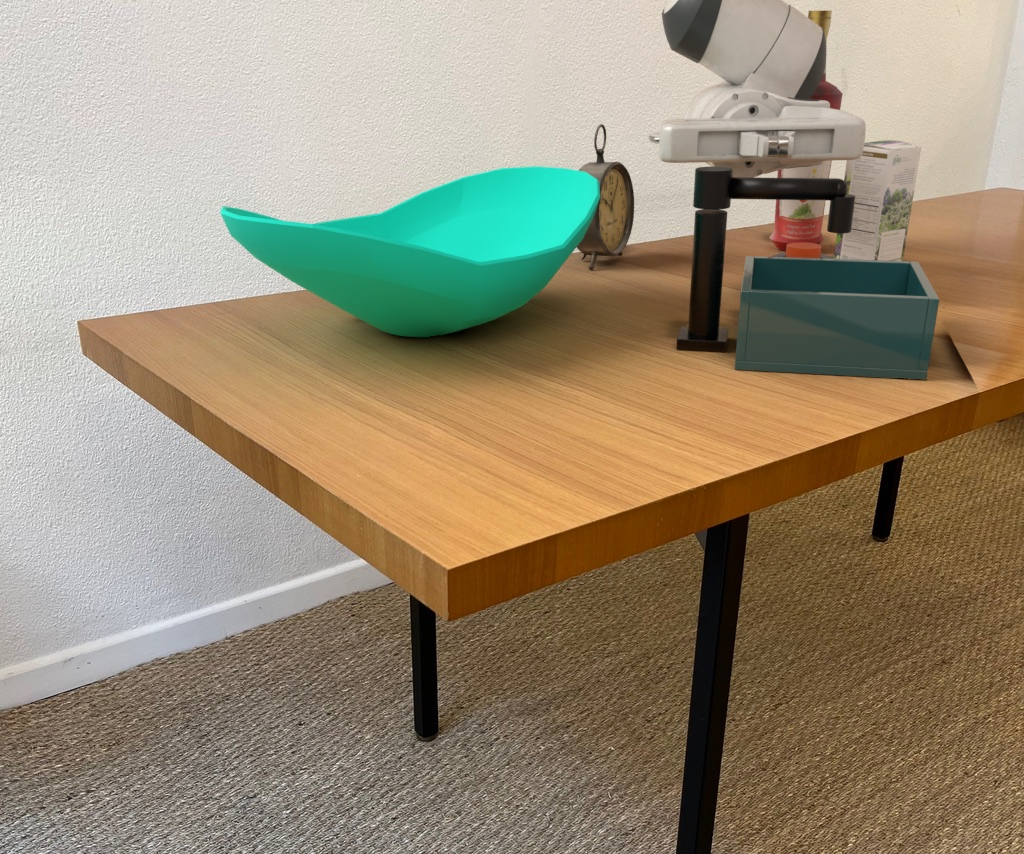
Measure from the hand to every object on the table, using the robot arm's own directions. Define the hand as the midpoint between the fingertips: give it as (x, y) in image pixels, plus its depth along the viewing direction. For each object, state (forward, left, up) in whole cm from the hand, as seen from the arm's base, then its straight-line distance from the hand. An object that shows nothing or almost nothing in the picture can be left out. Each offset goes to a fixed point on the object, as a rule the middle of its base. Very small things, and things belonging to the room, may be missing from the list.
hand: (778, 147), depth 98 cm
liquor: (-4, -37, -17) cm, 40 cm away
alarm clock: (+20, -24, -17) cm, 35 cm away
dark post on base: (+5, +10, -16) cm, 20 cm away
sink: (-6, +10, -16) cm, 20 cm away
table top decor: (+32, +10, -17) cm, 37 cm away
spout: (0, +10, -6) cm, 12 cm away
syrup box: (-12, -24, -17) cm, 31 cm away
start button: (-4, -11, -13) cm, 17 cm away
